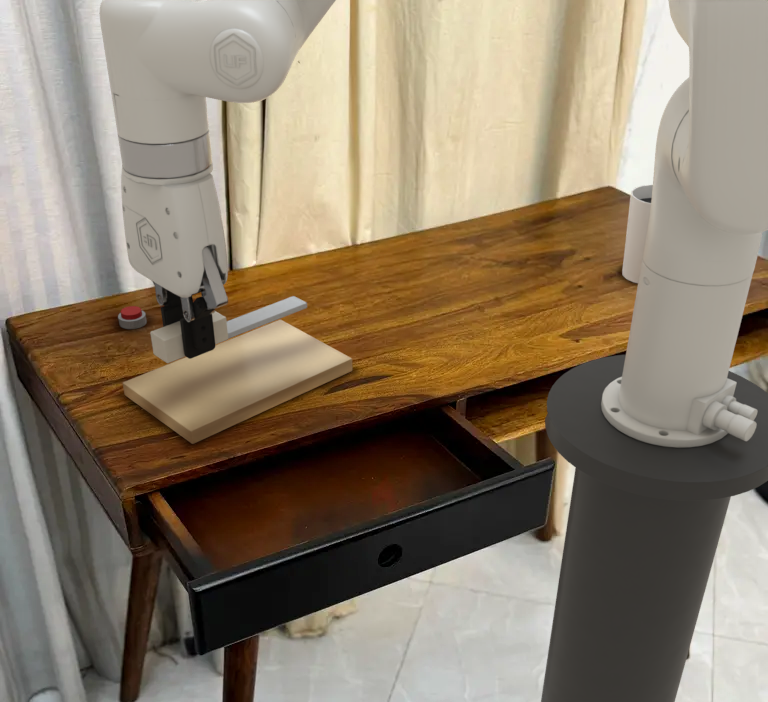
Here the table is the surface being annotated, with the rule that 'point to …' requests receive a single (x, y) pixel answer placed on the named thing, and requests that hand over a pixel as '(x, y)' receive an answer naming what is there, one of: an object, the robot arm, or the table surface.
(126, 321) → the push button
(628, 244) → the white cup
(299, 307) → the knife
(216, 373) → the cutting board
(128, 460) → the table surface
